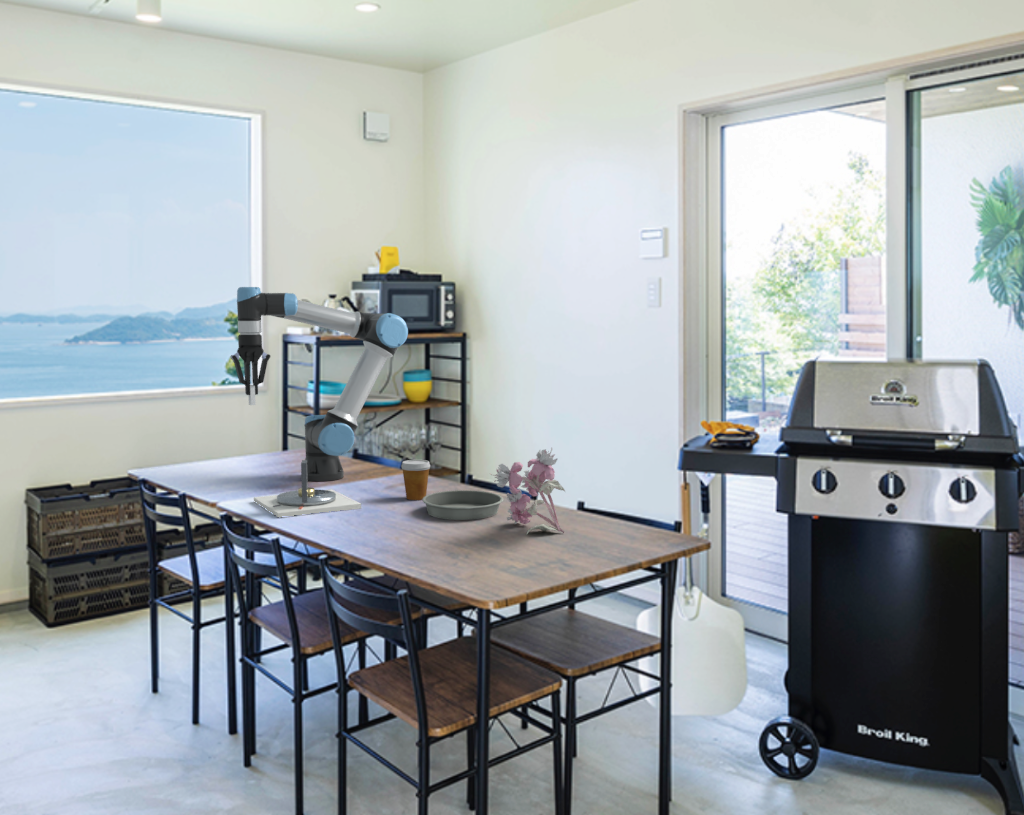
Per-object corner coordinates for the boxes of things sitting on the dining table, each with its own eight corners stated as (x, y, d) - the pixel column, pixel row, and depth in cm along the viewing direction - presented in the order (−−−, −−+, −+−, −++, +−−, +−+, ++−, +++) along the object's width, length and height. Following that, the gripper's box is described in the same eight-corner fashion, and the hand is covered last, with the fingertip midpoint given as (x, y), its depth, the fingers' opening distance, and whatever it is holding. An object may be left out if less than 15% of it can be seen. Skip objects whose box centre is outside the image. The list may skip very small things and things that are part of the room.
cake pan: (430, 524, 271) (430, 508, 270) (416, 506, 295) (415, 492, 294) (512, 519, 278) (512, 504, 277) (492, 502, 301) (492, 488, 301)
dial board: (331, 493, 313) (331, 488, 312) (361, 508, 290) (361, 502, 290) (253, 502, 299) (253, 496, 299) (278, 518, 277) (278, 512, 277)
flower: (581, 514, 275) (544, 438, 275) (590, 524, 253) (550, 441, 252) (520, 544, 275) (482, 468, 274) (523, 557, 252) (482, 474, 252)
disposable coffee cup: (433, 495, 310) (432, 459, 308) (427, 501, 300) (427, 464, 299) (404, 495, 310) (404, 459, 309) (398, 501, 301) (398, 464, 300)
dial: (279, 494, 302) (278, 453, 301) (336, 492, 305) (335, 452, 303) (274, 507, 283) (272, 463, 281) (334, 505, 286) (333, 462, 284)
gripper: (266, 333, 317) (268, 402, 320) (227, 333, 310) (229, 404, 313) (272, 333, 311) (274, 404, 313) (232, 334, 304) (235, 406, 307)
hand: (252, 404), depth 313 cm, fingers closed
